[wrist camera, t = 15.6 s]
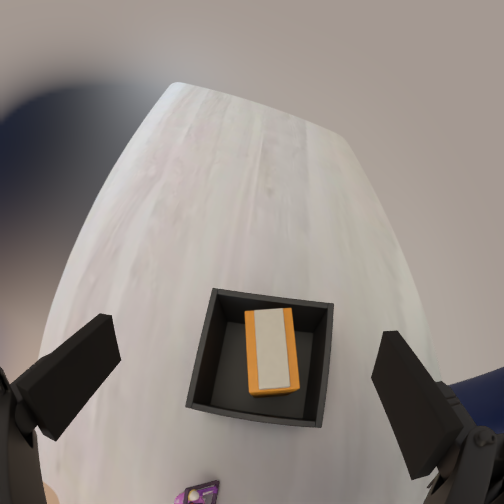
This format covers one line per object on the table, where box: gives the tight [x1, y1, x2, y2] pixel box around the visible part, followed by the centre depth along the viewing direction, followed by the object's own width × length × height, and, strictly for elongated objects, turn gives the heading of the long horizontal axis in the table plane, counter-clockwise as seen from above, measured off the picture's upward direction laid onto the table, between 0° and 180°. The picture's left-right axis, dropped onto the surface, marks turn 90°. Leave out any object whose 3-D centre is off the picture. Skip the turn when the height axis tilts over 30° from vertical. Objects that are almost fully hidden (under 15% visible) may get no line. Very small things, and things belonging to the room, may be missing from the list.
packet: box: [245, 308, 300, 398], centre depth 27 cm, size 4×7×13 cm, turn 3°
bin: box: [185, 288, 334, 428], centre depth 28 cm, size 12×12×10 cm
